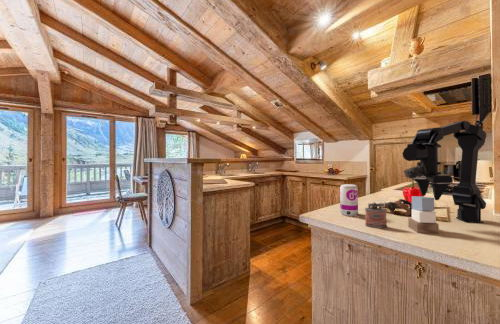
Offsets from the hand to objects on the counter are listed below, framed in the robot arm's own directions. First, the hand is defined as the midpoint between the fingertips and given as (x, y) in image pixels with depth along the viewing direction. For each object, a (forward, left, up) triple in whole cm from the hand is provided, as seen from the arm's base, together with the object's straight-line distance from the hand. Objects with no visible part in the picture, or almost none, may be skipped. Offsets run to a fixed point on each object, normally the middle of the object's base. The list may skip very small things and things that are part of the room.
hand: (429, 197), depth 90 cm
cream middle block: (+4, +4, -8) cm, 10 cm away
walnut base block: (+5, +4, -12) cm, 14 cm away
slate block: (+4, +3, -4) cm, 7 cm away
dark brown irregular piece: (+3, -20, -12) cm, 24 cm away
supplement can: (+28, -16, -12) cm, 34 cm away
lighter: (+21, +2, -12) cm, 24 cm away
